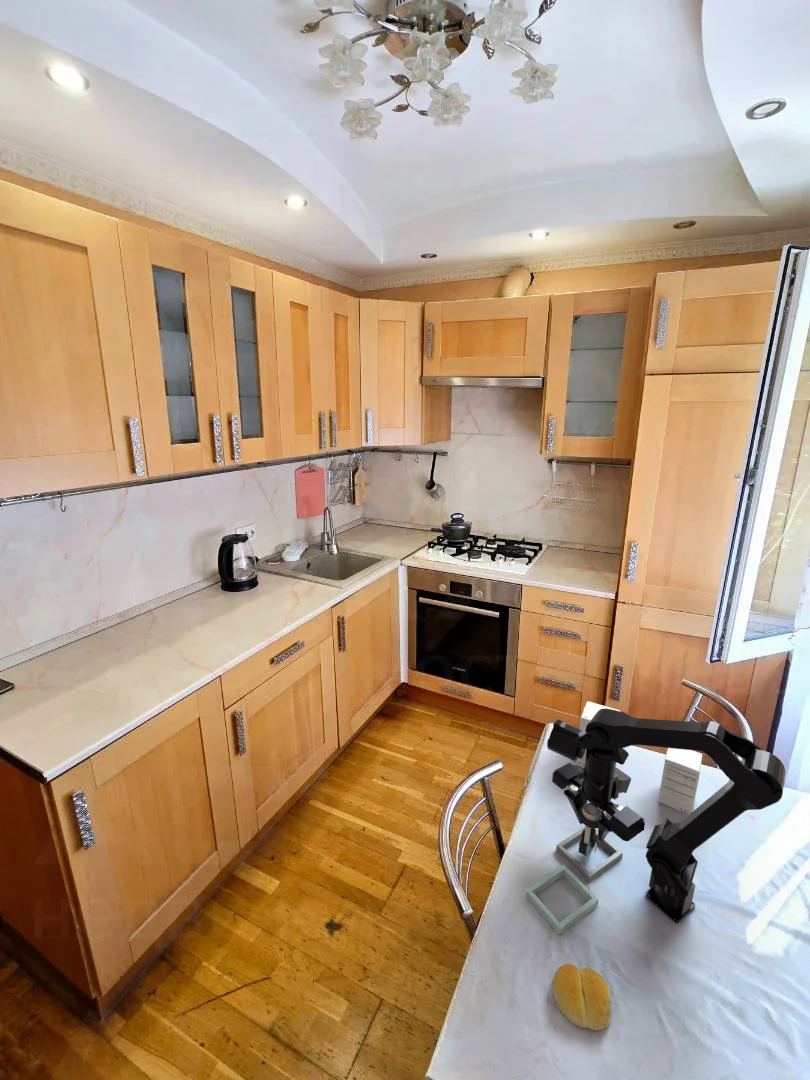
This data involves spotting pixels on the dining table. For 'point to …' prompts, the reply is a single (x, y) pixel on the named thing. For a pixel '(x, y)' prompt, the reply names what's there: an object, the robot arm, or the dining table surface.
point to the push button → (589, 827)
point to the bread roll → (582, 997)
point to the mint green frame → (576, 915)
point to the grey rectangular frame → (578, 866)
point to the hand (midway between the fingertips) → (591, 831)
